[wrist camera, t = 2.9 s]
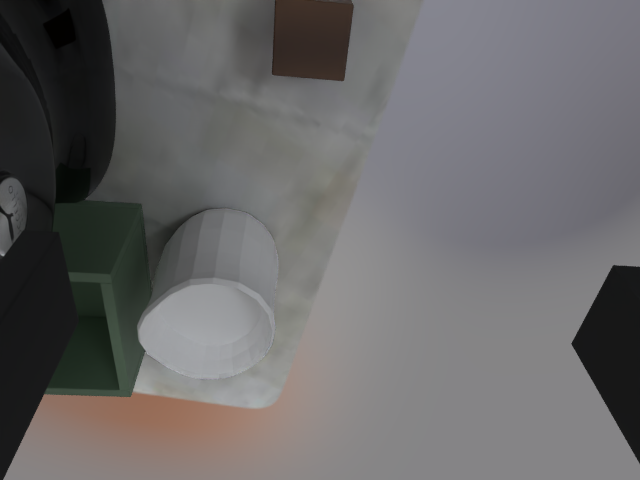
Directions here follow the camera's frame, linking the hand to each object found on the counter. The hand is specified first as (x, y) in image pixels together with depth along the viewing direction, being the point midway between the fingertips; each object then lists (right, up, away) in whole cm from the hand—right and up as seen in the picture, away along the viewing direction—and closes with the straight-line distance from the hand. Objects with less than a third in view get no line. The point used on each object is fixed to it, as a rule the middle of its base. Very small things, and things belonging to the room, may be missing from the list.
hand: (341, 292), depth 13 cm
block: (-1, +15, +21) cm, 26 cm away
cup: (-9, 0, +32) cm, 33 cm away
